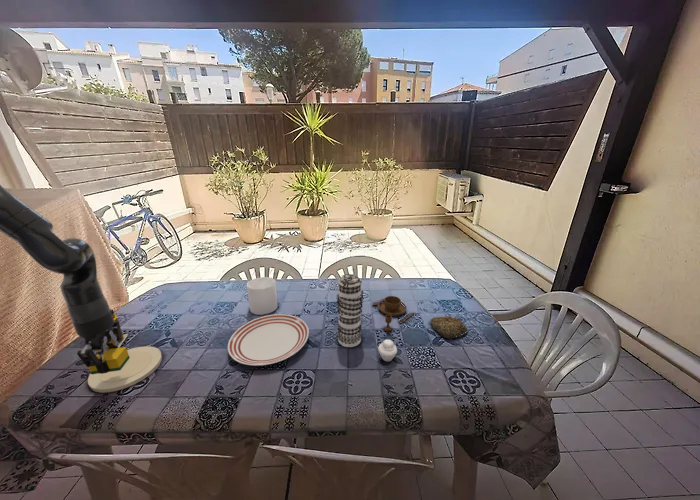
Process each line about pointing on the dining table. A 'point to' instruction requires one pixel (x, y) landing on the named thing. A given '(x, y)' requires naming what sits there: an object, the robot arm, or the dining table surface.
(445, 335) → the mossy brown rock
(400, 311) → the place setting
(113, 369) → the sponge
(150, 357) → the side plate
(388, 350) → the white lidded jar
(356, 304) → the decorative candle
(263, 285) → the cup
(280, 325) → the dinner plate
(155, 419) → the dining table surface
